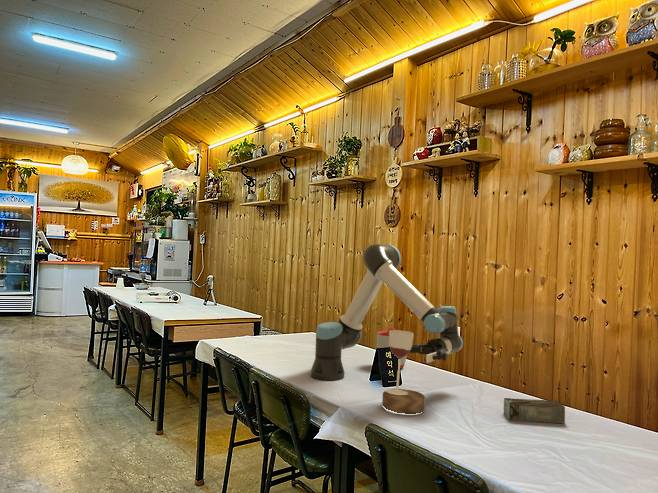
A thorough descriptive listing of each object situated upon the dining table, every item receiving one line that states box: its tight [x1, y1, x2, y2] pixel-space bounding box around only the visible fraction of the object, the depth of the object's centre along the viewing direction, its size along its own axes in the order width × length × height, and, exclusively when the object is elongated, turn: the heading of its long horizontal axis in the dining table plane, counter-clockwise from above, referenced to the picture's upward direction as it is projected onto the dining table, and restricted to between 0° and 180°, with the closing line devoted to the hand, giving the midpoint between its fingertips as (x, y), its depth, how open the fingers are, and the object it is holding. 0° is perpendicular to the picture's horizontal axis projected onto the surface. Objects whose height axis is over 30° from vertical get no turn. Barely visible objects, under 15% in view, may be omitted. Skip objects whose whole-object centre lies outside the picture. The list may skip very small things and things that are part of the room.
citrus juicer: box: [376, 326, 408, 370], centre depth 239 cm, size 16×17×20 cm
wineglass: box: [385, 329, 415, 395], centre depth 179 cm, size 9×10×22 cm
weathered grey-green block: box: [503, 397, 566, 425], centre depth 171 cm, size 8×19×7 cm, turn 85°
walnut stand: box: [381, 388, 426, 414], centre depth 176 cm, size 15×15×5 cm
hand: (410, 355), depth 179 cm, fingers open, 13 cm apart
